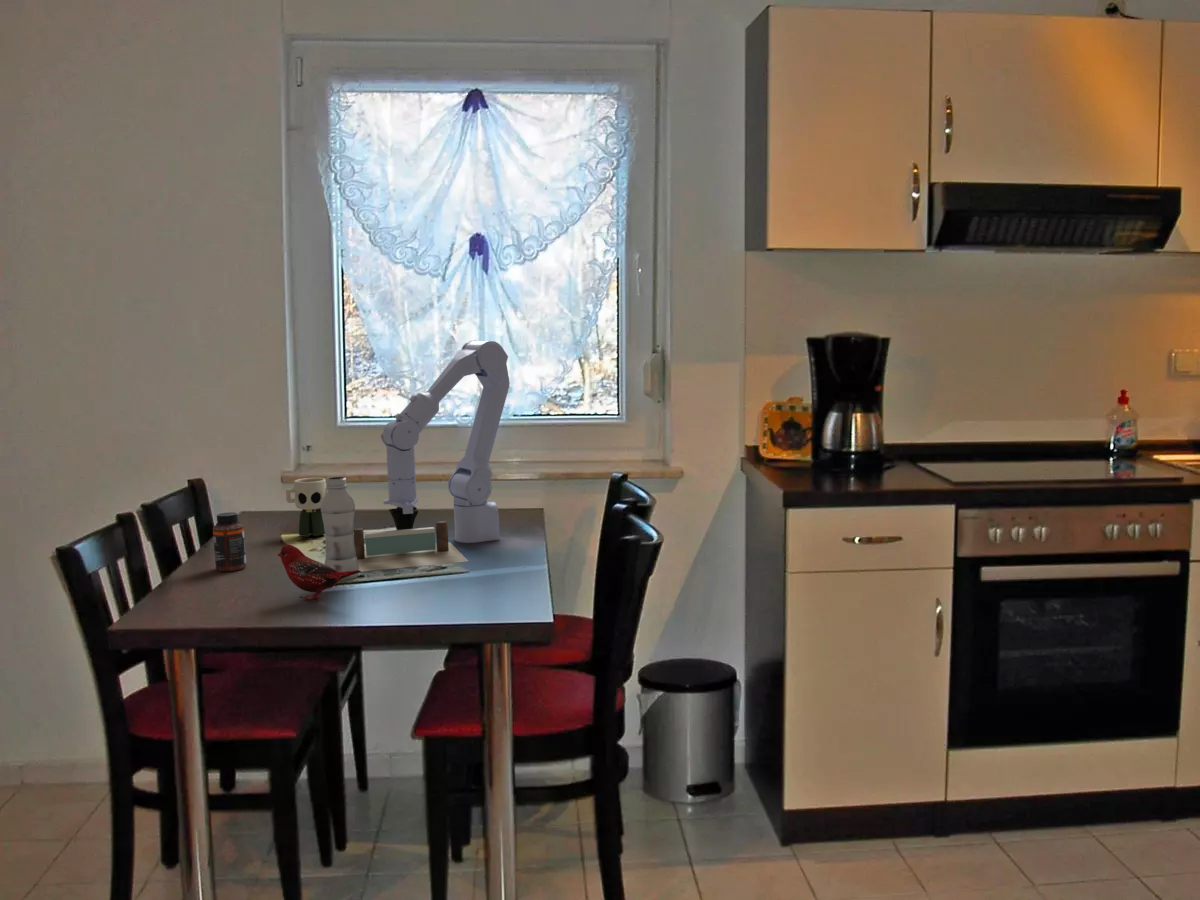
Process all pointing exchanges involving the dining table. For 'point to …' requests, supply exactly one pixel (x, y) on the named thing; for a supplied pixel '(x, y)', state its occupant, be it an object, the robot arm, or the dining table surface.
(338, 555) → the plastic bottle
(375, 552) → the gate
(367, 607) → the dining table surface
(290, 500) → the character mug
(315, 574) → the decorative bird figurine
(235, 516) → the supplement bottle
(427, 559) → the gate frame
